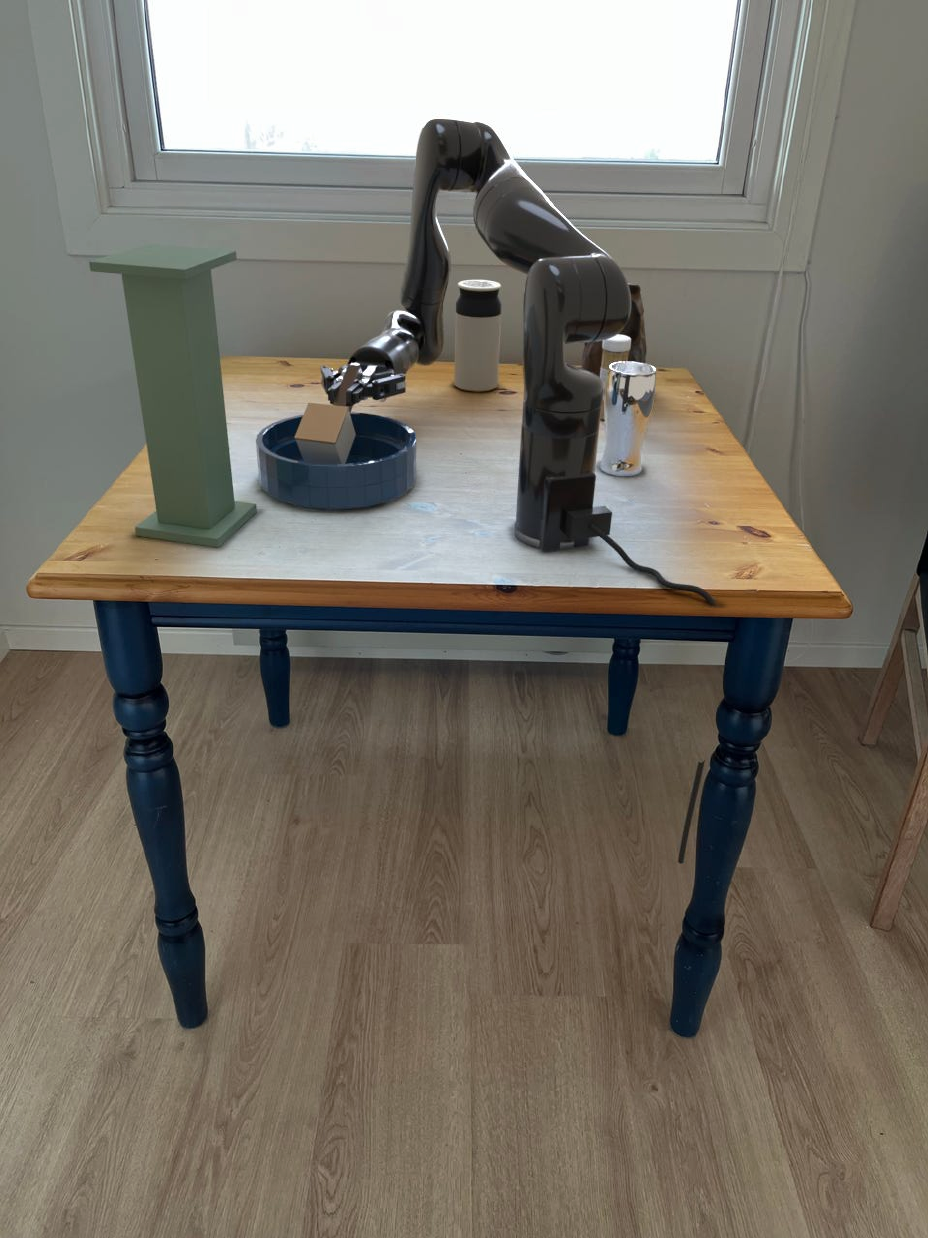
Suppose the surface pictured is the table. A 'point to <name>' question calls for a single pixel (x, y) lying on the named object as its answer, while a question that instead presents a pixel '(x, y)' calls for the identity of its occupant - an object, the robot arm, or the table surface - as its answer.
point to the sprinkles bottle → (613, 358)
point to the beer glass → (627, 416)
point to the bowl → (339, 465)
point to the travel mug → (477, 335)
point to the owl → (631, 329)
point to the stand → (180, 390)
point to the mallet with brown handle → (329, 426)
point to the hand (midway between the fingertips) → (340, 398)
